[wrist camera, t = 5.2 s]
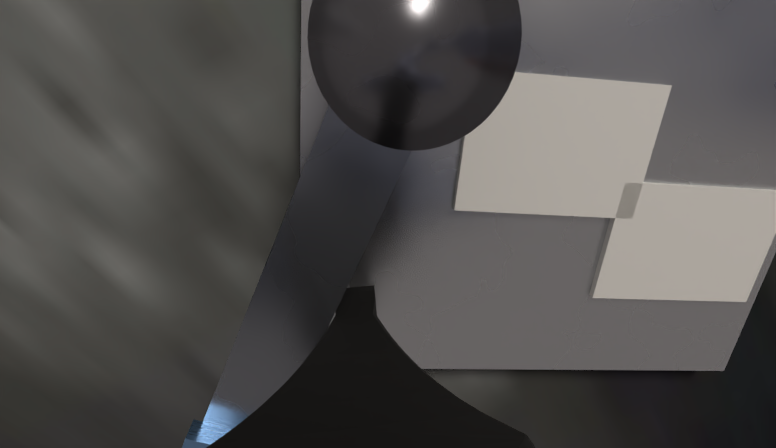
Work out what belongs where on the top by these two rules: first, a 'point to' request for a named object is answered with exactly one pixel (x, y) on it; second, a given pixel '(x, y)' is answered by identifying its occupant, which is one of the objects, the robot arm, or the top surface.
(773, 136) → the lid
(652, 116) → the psu label
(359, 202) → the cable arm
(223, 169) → the top surface
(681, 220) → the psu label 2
